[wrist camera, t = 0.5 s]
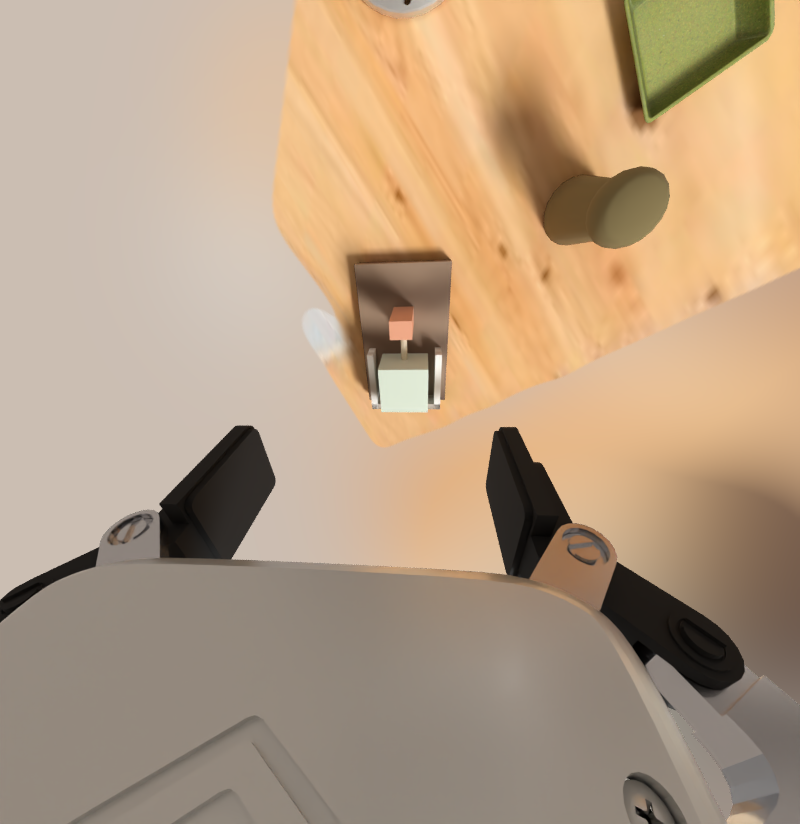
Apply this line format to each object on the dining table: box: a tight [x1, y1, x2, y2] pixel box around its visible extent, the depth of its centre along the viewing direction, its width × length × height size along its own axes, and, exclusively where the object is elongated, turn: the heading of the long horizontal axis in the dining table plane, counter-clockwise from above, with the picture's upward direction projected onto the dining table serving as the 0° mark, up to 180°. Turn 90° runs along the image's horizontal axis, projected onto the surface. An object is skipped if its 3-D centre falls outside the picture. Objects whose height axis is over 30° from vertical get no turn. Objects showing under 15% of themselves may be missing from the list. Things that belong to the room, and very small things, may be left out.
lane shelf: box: [354, 260, 452, 409], centre depth 37 cm, size 18×11×4 cm, turn 2°
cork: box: [544, 166, 670, 249], centre depth 26 cm, size 6×6×11 cm
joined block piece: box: [378, 306, 428, 412], centre depth 36 cm, size 12×6×6 cm, turn 2°
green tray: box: [624, 0, 775, 123], centre depth 23 cm, size 9×9×2 cm
